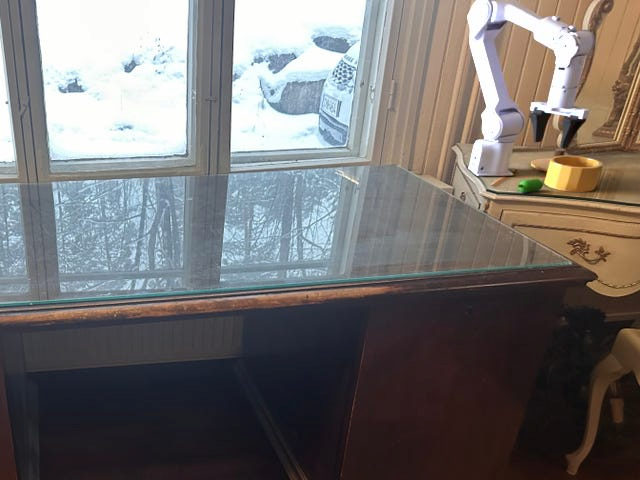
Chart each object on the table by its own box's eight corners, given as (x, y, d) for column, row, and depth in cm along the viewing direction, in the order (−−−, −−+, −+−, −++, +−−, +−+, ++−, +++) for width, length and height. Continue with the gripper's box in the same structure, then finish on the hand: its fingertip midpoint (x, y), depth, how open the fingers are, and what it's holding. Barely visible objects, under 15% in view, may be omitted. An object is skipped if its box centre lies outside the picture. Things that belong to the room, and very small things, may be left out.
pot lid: (541, 175, 182) (546, 156, 179) (522, 162, 193) (527, 144, 190) (589, 174, 181) (595, 155, 179) (568, 161, 192) (573, 143, 189)
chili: (520, 195, 168) (523, 183, 167) (511, 192, 171) (513, 180, 169) (544, 191, 170) (547, 179, 169) (535, 188, 173) (538, 176, 171)
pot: (556, 192, 170) (563, 168, 167) (536, 178, 180) (542, 155, 176) (604, 191, 169) (611, 167, 166) (581, 178, 179) (588, 155, 176)
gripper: (526, 84, 167) (514, 141, 173) (580, 92, 155) (565, 152, 162) (547, 82, 169) (534, 137, 176) (601, 88, 157) (585, 148, 164)
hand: (550, 144), depth 169 cm, fingers open, 7 cm apart
